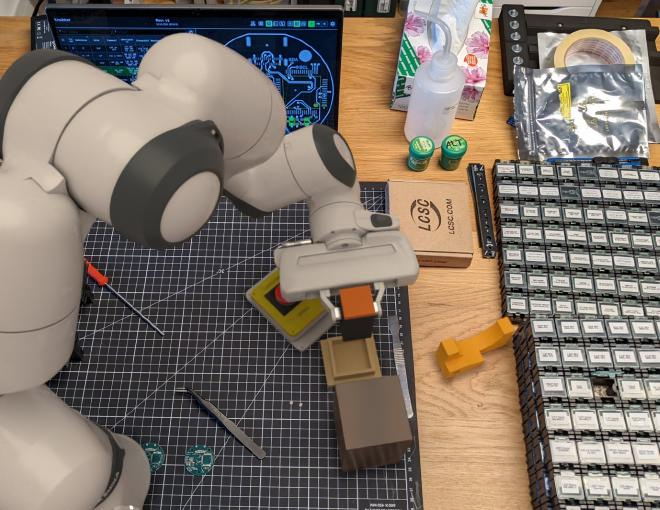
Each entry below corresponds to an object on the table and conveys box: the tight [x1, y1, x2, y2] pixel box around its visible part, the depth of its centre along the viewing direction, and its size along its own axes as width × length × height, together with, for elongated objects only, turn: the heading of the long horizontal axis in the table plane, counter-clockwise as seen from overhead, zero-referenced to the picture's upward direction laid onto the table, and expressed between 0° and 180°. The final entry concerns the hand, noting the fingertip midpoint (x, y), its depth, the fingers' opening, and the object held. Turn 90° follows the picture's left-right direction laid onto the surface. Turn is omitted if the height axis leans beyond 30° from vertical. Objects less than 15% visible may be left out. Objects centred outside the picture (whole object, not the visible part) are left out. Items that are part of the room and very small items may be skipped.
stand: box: [332, 374, 414, 473], centre depth 91 cm, size 9×9×16 cm
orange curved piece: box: [434, 316, 516, 380], centre depth 102 cm, size 12×4×6 cm, turn 111°
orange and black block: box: [338, 285, 376, 342], centre depth 87 cm, size 4×4×9 cm
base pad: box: [319, 332, 383, 388], centre depth 102 cm, size 9×8×3 cm
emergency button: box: [245, 266, 335, 353], centre depth 106 cm, size 9×4×15 cm
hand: (357, 318), depth 86 cm, fingers closed on orange and black block, 4 cm apart
